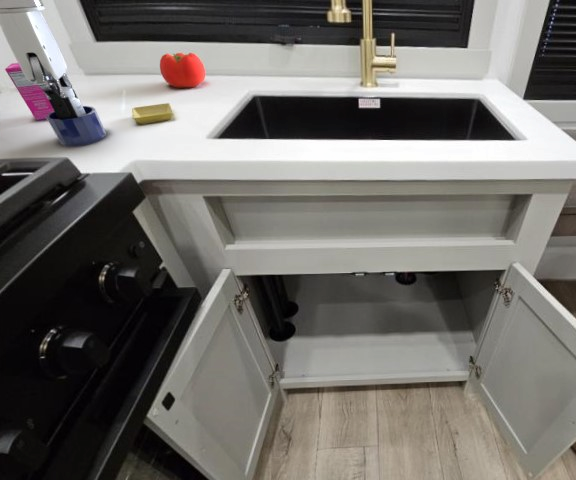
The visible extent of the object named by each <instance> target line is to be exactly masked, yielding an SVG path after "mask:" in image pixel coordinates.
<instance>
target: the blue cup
mask: <svg viewBox="0 0 576 480" xmlns="http://www.w3.org/2000/svg"><path fill="white" fill-rule="evenodd" d="M82 106H83V108H84V110H85V112H86V115H83V116H80V117H75V118H70V119H58V117H57V115H56V113H55V111H53V112H51V113H49V114H48V115H47V116H46V118H47V120H46V121H47V122H48V124H49V125H50V127H51V129H52V131H53V134H55V136H56V138H57V140H58V141H59V143H60V144H61V145H62V146H64V147H81V146H88V145H91V144H94V143H97V142H100V141H101V140H103V139H104V138H106V137H107V132H106V130H105V128H104V125H103V123H102V120H101V119H100V115H99V114H98V111H97V110H96V108H95V107H94V106H89V105H82Z"/></svg>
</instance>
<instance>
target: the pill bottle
mask: <svg viewBox="0 0 576 480" xmlns="http://www.w3.org/2000/svg"><path fill="white" fill-rule="evenodd" d="M62 89H63V91H64V94H65V96H66V97H68V98H69V100H70V102H71V104H72V106H73V108H74V110H75V112H76V114H77V116H78V117H80V116H83V115H86V112H85V110H84V108H83V106H84V105H83V104H82V102H81V100H80V99H79V97H78V98H75V95H74V92H73V90H72V88H71V87H62Z"/></svg>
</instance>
